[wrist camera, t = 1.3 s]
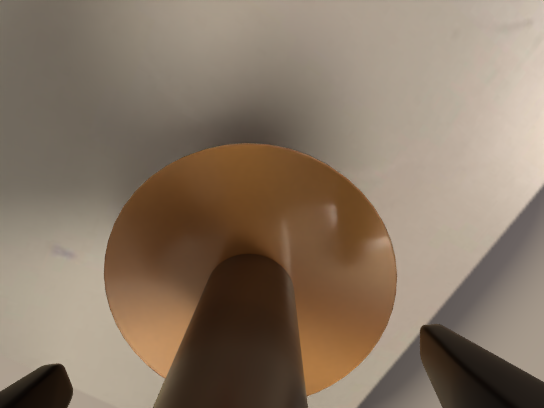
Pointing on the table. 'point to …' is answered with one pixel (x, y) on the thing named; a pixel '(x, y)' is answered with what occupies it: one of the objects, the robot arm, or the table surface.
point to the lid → (249, 277)
